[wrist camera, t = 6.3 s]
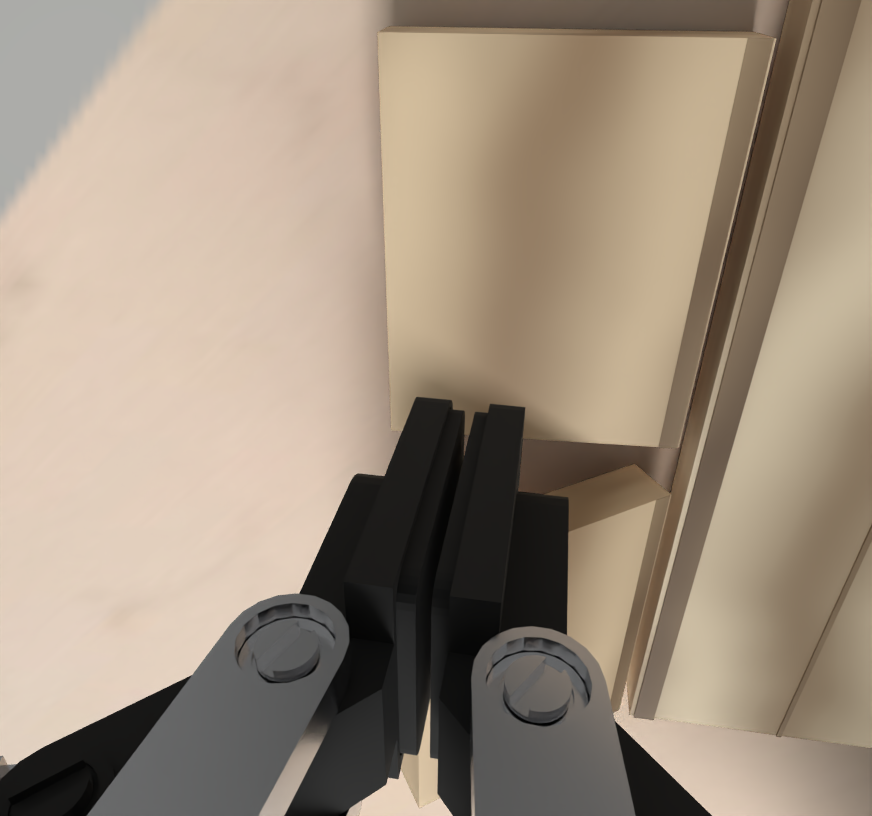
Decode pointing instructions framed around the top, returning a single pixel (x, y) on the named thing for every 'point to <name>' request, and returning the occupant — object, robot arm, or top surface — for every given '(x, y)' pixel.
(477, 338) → the front oak plank
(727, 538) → the laid oak floor row
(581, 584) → the back oak plank
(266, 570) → the top surface
